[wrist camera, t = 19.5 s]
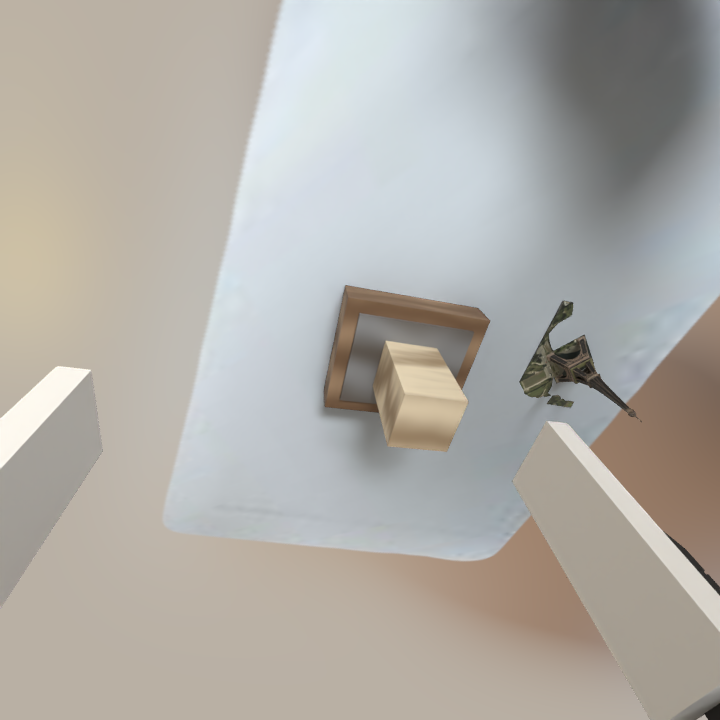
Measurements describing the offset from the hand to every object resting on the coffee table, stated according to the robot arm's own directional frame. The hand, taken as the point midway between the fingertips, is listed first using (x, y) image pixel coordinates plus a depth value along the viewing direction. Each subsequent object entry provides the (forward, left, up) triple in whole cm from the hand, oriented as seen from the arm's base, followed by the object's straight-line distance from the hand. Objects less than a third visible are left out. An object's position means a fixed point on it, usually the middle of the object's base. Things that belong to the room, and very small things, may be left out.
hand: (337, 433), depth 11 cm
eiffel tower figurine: (+11, +35, -32) cm, 49 cm away
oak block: (+13, +12, -28) cm, 33 cm away
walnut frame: (+13, +12, -32) cm, 36 cm away
